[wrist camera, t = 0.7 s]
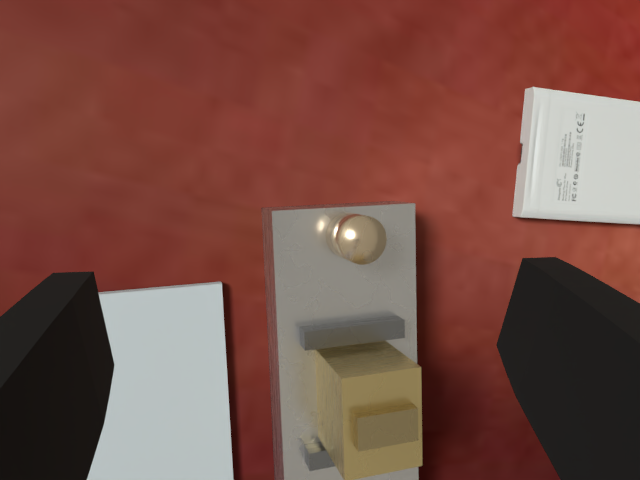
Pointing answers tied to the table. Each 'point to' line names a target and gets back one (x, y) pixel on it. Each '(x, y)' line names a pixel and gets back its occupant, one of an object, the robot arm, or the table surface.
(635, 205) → the external hard drive
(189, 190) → the table surface
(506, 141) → the table surface
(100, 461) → the mat
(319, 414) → the wooden block with pad
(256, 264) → the table surface
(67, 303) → the robot arm
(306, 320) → the grey piece
